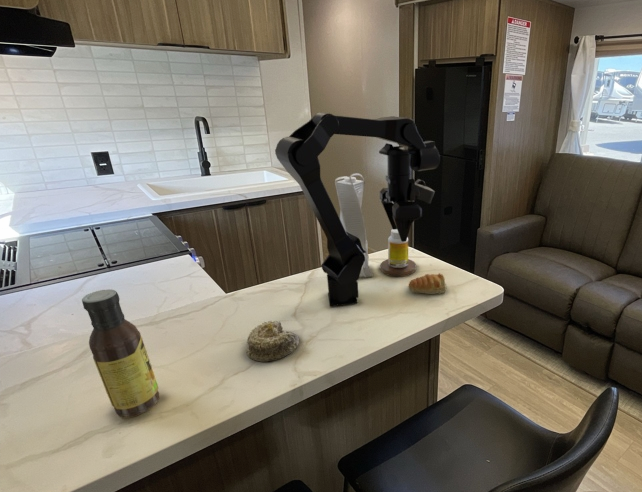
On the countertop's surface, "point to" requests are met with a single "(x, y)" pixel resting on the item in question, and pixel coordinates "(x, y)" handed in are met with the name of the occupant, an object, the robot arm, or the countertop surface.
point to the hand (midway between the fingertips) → (399, 235)
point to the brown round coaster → (398, 269)
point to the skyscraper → (353, 213)
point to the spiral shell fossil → (270, 342)
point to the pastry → (428, 284)
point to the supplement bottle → (397, 250)
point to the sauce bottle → (120, 356)
